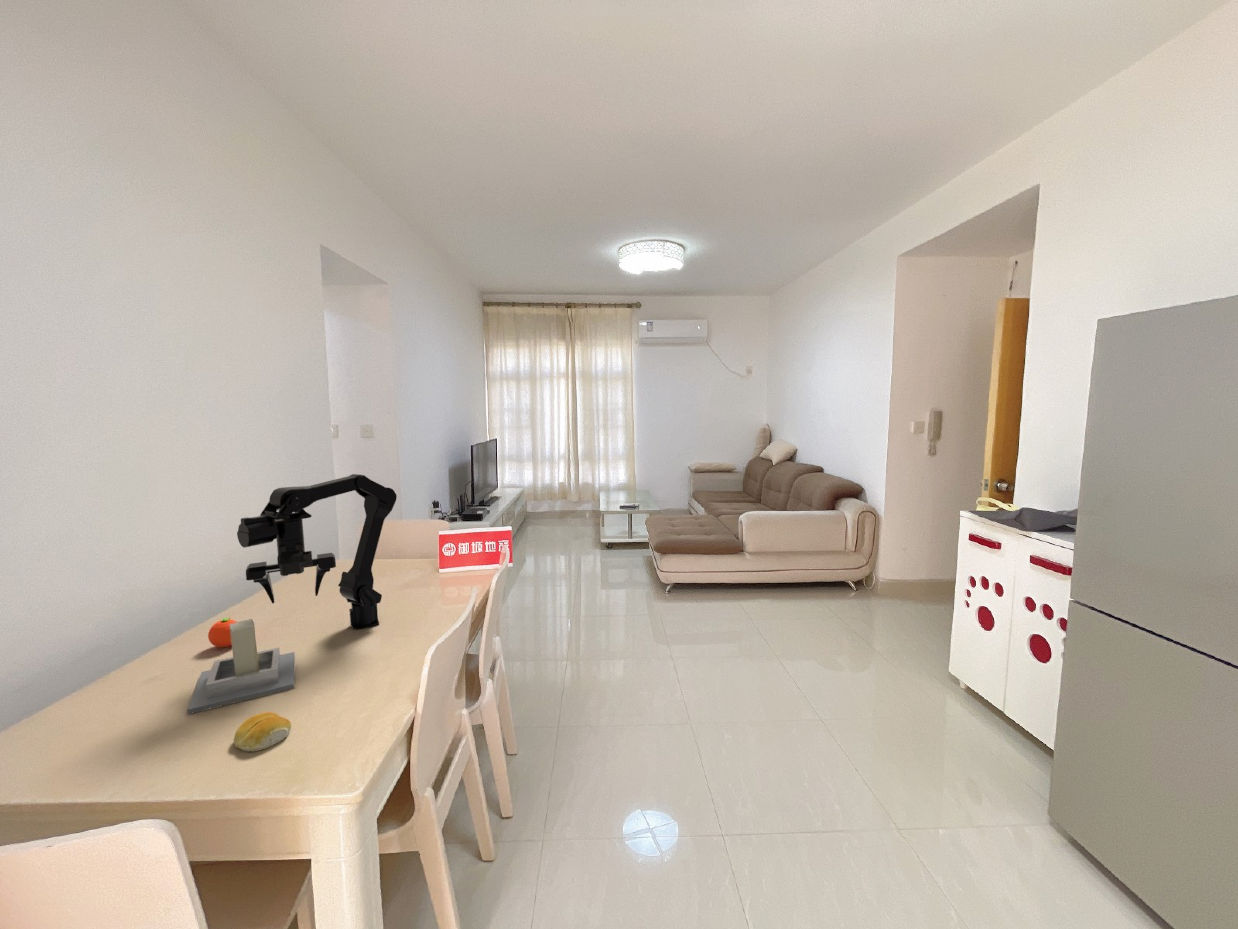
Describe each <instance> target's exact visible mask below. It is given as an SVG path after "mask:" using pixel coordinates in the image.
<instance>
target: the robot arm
mask: <svg viewBox="0 0 1238 929" xmlns="http://www.w3.org/2000/svg"><path fill="white" fill-rule="evenodd" d="M350 492H355V493H357V495H359V496H360V497H362V498H363V499H364V500H363V507H364V512H365V518H364V522H363V527H362V530H361V534H360V538H359V542H358V545H357V548H356V552H355V556H354V561H353V564H352V566H351V568H349V570H348V571H342V572H341V578H340V581H339V584H337V587H339V594H340V595H341V596H342V597H343V598H344V599H346V602H347V603H351V604H350V605H351V608H349V609H348V610H349V623H350V626H352V628H353V630H358V629H363V628H368V627H373V626H378V625H380V621H379V616H378V604H380V603H381V601H382V599H383V598H382V596H383V595H382V594H381V593H380V592H378V591H377V590H375V589H374V581H375V580H374V575H373V570H372V568H373V564H374V561H375V557H376V553H377V548H378V545H379V542H380V538H381V534H382V530H383V526H384V523H385V519H386V518H387V517H388V516H389V514H390V513H391V512H392V510H393V508H394V507H395V504H396V501H397V499H398V497H397V496H398V495H397V493H396V492H395V490H394V489H393V488H391V487H385V486H384V485H382V484H380V483H378V482H376V481H373V480H372V479H370V478H369V477H367V476H366V475H365V474H358V473H357V474H356V473H354V474H353V473H352V474H350V475H348V476H345V477H344V476H343V477H340V478H335V479H332V480H328V481H324V482H321V483H316V484H312V485H303V486H288V487H287V486H286V487H277V488H276V489H274V490H273V491H272V492H271V494H270V496H269V500H268V502H267V503H266V506H265V507H264V508H263V510H262V511H261V513H260V515H258V516H253V517H248V516H247V517H242V518H240V524H239V525H238V528H237V531H236V536H237V540H238V542H239V544H240V546H241V547H242V548H251V547H254V546H260V545H264V544H265V545H266V544H269V543H273V542H274V540H276V547H277V557H276V558H277V560H276V561H277V563H275V564H268V563H267V561H260V562H254V563H253V562H252V563H249V564H248V565H247V566H246V569H245V577H246V579H245V580H246V581H253V583H259V584H260V586H262V587H263V589H264V590H265V592H266V594H267V596H268V598H269V599H270V602H271V603H272V604H275V595H274V590H273V586H272V581H271V576H270V574H271V573H277V572H279V573H280V576H283V577H286V576H289V575H295V574H297V575H299V574H302V573H304V572H305V568H312V567H316V569H315V570H316V572H315V581H314V582H315V583H314V584H315V585H314V593H315V594H314V596H315V597H317V596H318V594H319V591H320V588H321V584H322V581H323V578H324V577H325V574H326V573H328V572H330V571H331V569H334V568H336V567H337V564H336V555H335V554H334V553H333V552H327V553H320V554H316V558H313V551H312V550H307V551H306V549H305V548H306V547H305V536H304V525H303V520H304V519H310V518H311V517H312V514H311V513H309V512H307V511H306V510H305V509H306V508H308V507H310V506H311V505H312V504H314V503H316V502H318V501H322V500H324V499H328V498H332V497H335V496H339V495H342V494H346V493H350Z"/></svg>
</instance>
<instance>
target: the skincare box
mask: <svg viewBox="0 0 1238 929" xmlns="http://www.w3.org/2000/svg"><path fill="white" fill-rule="evenodd" d="M229 625H230V634H231V643H232V645H231V650H232V651H231V652H232V657H233V660H234V668H235V676H238V675H243V674H247V673H252V672H256V671H259V664H258V656H257V652H258V650H257V649H258V648H257V640H256V639H257V638H256V628H255V623H254V620H253V618H250V619H247V620H246V619H244V620H242V621H237V622H236V623H231V624H229Z"/></svg>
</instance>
